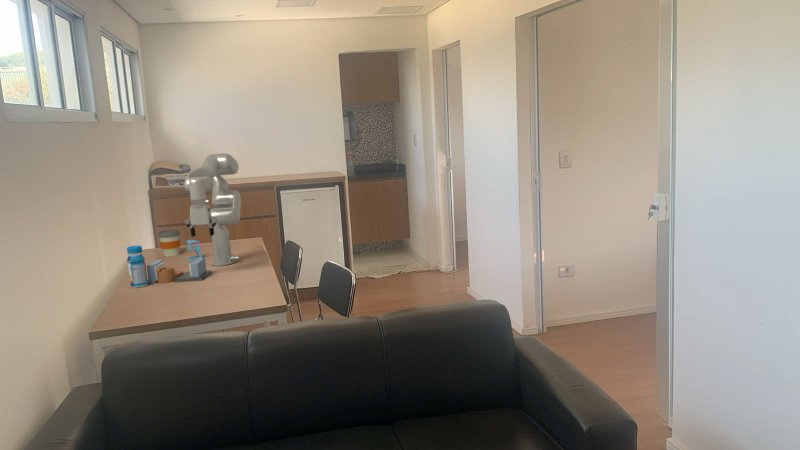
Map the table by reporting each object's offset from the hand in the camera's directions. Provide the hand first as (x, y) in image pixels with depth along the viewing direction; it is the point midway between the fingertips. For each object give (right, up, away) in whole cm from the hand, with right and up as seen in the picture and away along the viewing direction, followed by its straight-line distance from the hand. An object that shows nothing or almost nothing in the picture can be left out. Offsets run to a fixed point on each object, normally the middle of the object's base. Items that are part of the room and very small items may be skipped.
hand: (202, 235), depth 317 cm
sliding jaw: (-3, -20, +3) cm, 20 cm away
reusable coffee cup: (-41, -13, +68) cm, 80 cm away
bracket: (-18, -23, +4) cm, 29 cm away
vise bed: (-6, -22, +4) cm, 23 cm away
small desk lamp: (-21, -15, +51) cm, 57 cm away
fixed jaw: (-25, -23, +4) cm, 34 cm away
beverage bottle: (-29, -25, -7) cm, 39 cm away
